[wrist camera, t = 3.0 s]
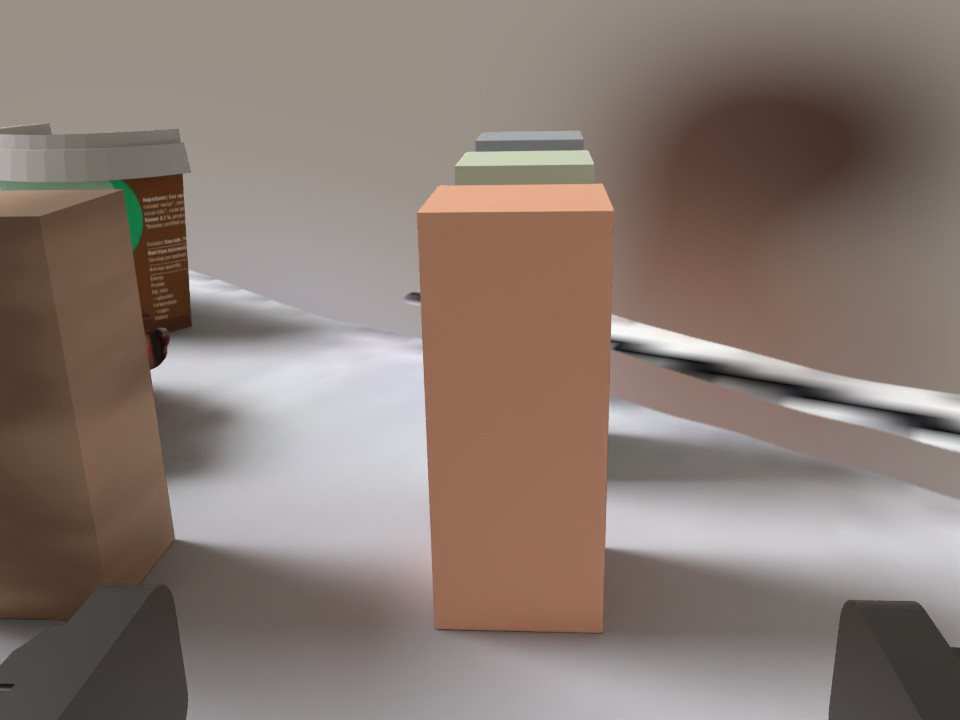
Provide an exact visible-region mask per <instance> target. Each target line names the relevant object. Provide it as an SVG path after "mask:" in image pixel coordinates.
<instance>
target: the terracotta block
mask: <svg viewBox="0 0 960 720" xmlns="http://www.w3.org/2000/svg"><path fill="white" fill-rule="evenodd" d="M417 224H418V246H419V247H418V248H419V269H420V270H419V271H420V294H421V315H422V340H423V363H424V387H425V410H426V433H427V456H428V479H429V503H430V526H431V549H432V572H433V595H434V618H435V629H456V630H497V631H538V632H579V633H603V606H604V569H605V532H606V494H607V457H608V420H609V383H610V346H611V309H612V305H611V304H612V270H613V234H614V233H613V232H614V209H613V207H612V205H611V202H610V200H609V198H608V196H607V193H606V191H605V189H604V186H603V184H543V185H455V186H439V187H438V188H437V189H436V190H435V191H434V192H433V194H432V195H431V196H430V197H429V199H428V200H427V201H426V202H425V203H424V205H423V206H422V207H421V208H420V210H419V211H418V212H417Z"/></svg>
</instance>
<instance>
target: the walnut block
mask: <svg viewBox="0 0 960 720" xmlns="http://www.w3.org/2000/svg"><path fill="white" fill-rule="evenodd" d="M174 539H175V536H174V530H173V523H172V516H171V509H170V502H169V496H168V489H167V482H166V475H165V469H164V462H163V455H162V448H161V441H160V435H159V428H158V421H157V414H156V408H155V401H154V394H153V387H152V380H151V374H150V367H149V360H148V353H147V346H146V340H145V333H144V326H143V319H142V313H141V306H140V299H139V292H138V285H137V279H136V272H135V265H134V258H133V252H132V245H131V238H130V231H129V224H128V218H127V211H126V204H125V197H124V191H123V189H104V190H23V191H0V618H2V619H44V620H70V619H71V618H72V617H73V615H74V614H75V613H76V612H77V611H78V610H79V608H80V607H81V606H82V605H83V604H84V602H85V601H86V600H87V599H88V598H89V597H90V595H91V594H92V593H93V592H94V591H95V590H96V589H97V588H98V587H99V586H101V585H103V584H131V585H140V583H141V582H142V581H143V580H144V578H145V577H146V576H147V574H148V573H149V572H150V570H151V569H152V568H153V566H154V565H155V564H156V563H157V561H158V560H159V559H160V557H161V556H162V555H163V553H164V552H165V551H166V549H167V548H168V547H169V546H170V544H171V543H172V542H173V540H174Z"/></svg>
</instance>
